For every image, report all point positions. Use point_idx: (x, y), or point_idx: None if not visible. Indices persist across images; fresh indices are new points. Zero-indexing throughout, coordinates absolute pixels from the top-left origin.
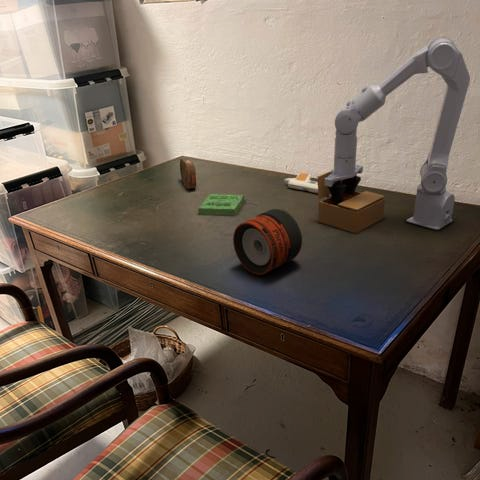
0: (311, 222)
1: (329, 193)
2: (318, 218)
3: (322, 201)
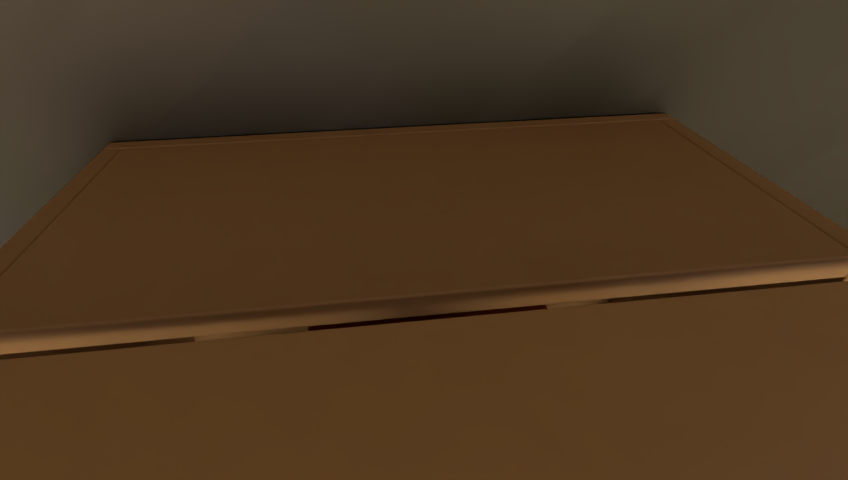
0: (8, 90)
1: (288, 378)
2: (92, 162)
3: (35, 340)
